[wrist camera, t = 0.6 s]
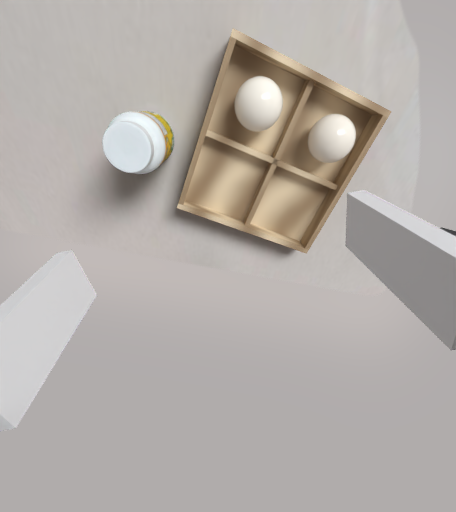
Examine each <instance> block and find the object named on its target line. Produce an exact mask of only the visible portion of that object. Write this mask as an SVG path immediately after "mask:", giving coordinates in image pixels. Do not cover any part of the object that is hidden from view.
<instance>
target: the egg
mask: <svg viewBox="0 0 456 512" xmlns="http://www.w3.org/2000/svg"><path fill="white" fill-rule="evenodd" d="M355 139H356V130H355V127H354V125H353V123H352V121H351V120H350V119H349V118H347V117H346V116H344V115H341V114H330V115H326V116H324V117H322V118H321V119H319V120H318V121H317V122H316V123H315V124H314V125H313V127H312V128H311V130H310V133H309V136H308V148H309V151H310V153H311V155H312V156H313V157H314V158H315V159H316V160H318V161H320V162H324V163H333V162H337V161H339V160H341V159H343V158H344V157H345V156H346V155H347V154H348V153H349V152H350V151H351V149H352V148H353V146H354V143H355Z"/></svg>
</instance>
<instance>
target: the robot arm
mask: <svg viewBox="0 0 456 512" xmlns="http://www.w3.org/2000/svg"><path fill="white" fill-rule="evenodd" d="M346 247H347V248H348V249H349V250H350V251H351V252H352V253H353V254H354V255H355V256H356V257H357V258H358V259H359V260H360V261H361V262H362V263H363V264H364V265H365V266H366V267H367V268H368V269H369V270H370V271H371V272H372V273H373V274H375V275H376V276H377V277H378V278H379V279H380V280H381V281H382V282H383V283H384V284H385V285H386V286H387V287H388V288H389V289H390V290H391V291H392V292H393V293H394V294H395V295H396V296H397V297H398V298H399V299H400V300H401V301H402V302H403V303H404V304H405V305H406V306H407V307H408V308H409V309H410V310H411V311H412V312H413V313H414V314H415V315H416V316H417V317H418V318H419V319H420V320H421V321H422V322H423V323H424V324H425V325H426V326H427V327H428V328H429V329H430V330H431V331H432V332H433V333H434V334H435V335H436V336H437V337H438V338H439V339H440V340H441V341H442V342H443V343H444V344H445V345H446V346H447V347H448V348H449V349H450V350H455V349H456V231H452V230H448V229H445V228H438V227H436V226H434V225H432V224H431V223H429V222H426V221H425V220H423V219H421V218H419V217H417V216H415V215H413V214H411V213H409V212H407V211H405V210H403V209H401V208H399V207H397V206H395V205H393V204H391V203H389V202H387V201H385V200H383V199H381V198H379V197H378V196H376V195H374V194H372V193H370V192H368V191H366V190H360V191H355V192H350V193H347V217H346ZM96 296H97V294H96V292H95V290H94V288H93V287H92V285H91V283H90V281H89V280H88V278H87V276H86V274H85V272H84V270H83V269H82V267H81V265H80V263H79V262H78V260H77V258H76V256H75V255H74V252H73V251H72V250H69V251H65V252H59V253H56V254H55V255H54V256H53V257H52V258H51V259H50V260H49V261H48V262H47V263H45V264H44V265H43V266H42V267H41V268H40V269H39V270H38V271H37V272H36V273H35V274H34V275H33V276H31V277H30V278H29V279H28V280H27V281H26V282H25V283H24V284H23V285H22V286H21V287H20V288H19V289H17V290H16V291H15V293H13V294H12V295H11V296H10V297H9V298H8V299H7V300H6V301H5V302H3V303H2V304H1V305H0V431H4V430H9V429H15V428H16V427H17V426H18V424H19V422H20V421H21V419H22V417H23V416H24V414H25V412H26V411H27V409H28V407H29V406H30V404H31V403H32V401H33V399H34V397H35V396H36V394H37V393H38V391H39V389H40V388H41V386H42V384H43V383H44V381H45V380H46V378H47V376H48V375H49V373H50V371H51V370H52V368H53V366H54V365H55V363H56V362H57V360H58V358H59V357H60V355H61V353H62V352H63V350H64V349H65V347H66V345H67V343H68V342H69V340H70V339H71V337H72V335H73V334H74V332H75V331H76V329H77V327H78V326H79V324H80V322H81V321H82V319H83V317H84V316H85V314H86V312H87V311H88V309H89V307H90V306H91V304H92V303H93V301H94V299H95V298H96Z"/></svg>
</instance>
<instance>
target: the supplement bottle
mask: <svg viewBox="0 0 456 512" xmlns="http://www.w3.org/2000/svg"><path fill="white" fill-rule="evenodd" d="M102 145H103V150H104V153H105V156H106V157H107V159H108V161H109V162H110V163H111V164H112V165H113V166H114V167H116V168H117V169H119V170H121V171H123V172H127V173H134V174H146V173H149V172H152V171H153V170H155V169H156V168H158V167H159V166H160V165H161V164H162V163H163V162H164V161H165V160H166V159H167V158H168V157H169V155H170V154H171V152H172V150H173V147H174V134H173V130H172V128H171V126H170V124H169V123H168V122H167V121H166V120H165V119H164V118H163V117H162V116H160V115H159V114H157V113H154V112H149V111H131V112H125V113H122V114H119V115H118V116H116V117H115V118H114V119H113V120H112V121H111V123H110V124H109V126H108V128H107V130H106V131H105V133H104V136H103V141H102Z"/></svg>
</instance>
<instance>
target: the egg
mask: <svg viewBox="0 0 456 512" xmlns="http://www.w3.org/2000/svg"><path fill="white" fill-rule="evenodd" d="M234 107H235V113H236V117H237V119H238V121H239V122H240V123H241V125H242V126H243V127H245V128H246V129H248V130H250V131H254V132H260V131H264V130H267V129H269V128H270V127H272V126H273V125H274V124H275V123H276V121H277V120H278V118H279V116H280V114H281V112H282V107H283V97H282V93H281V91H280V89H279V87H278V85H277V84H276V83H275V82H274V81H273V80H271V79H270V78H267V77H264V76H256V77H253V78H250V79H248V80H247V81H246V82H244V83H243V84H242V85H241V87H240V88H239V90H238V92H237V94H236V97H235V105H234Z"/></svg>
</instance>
